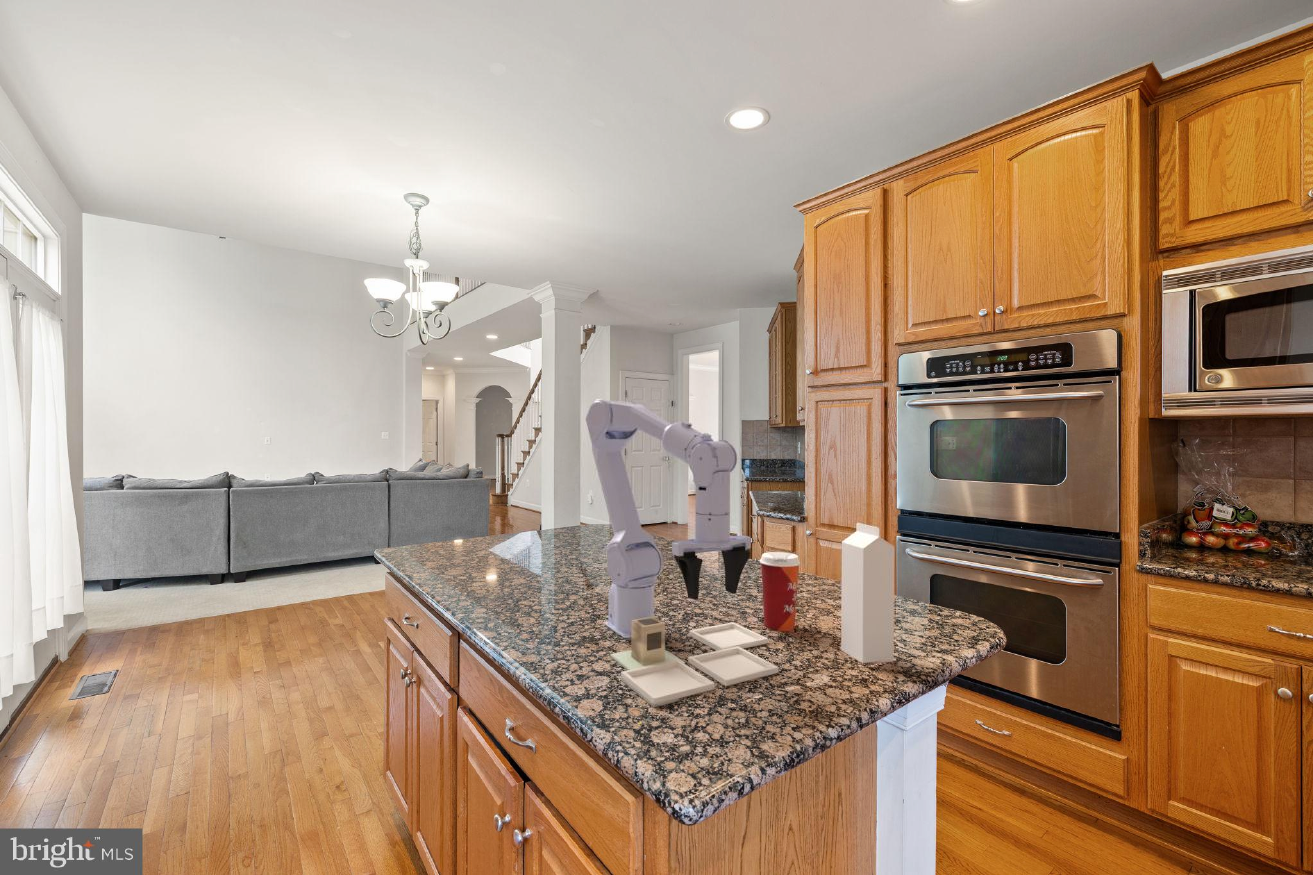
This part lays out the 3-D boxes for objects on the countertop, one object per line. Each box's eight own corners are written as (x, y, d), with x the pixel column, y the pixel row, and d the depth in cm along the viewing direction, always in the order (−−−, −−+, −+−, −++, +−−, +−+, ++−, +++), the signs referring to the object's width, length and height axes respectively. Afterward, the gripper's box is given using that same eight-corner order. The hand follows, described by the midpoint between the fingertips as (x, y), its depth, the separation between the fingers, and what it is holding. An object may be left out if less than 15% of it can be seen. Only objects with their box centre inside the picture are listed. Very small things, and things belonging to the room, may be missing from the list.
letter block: (631, 656, 93) (631, 619, 93) (652, 652, 95) (652, 616, 95) (643, 665, 89) (643, 626, 89) (665, 660, 91) (665, 623, 91)
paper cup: (801, 636, 104) (801, 560, 104) (758, 633, 106) (759, 558, 106) (799, 623, 112) (799, 552, 112) (759, 620, 114) (760, 550, 114)
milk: (862, 666, 91) (863, 528, 91) (840, 652, 97) (840, 523, 97) (894, 661, 93) (895, 526, 93) (870, 648, 99) (871, 521, 99)
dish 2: (689, 637, 103) (689, 630, 103) (733, 628, 108) (733, 622, 108) (721, 655, 95) (721, 648, 95) (768, 645, 100) (768, 638, 100)
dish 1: (620, 679, 85) (620, 671, 85) (677, 666, 90) (677, 659, 90) (653, 707, 76) (653, 698, 76) (714, 691, 81) (714, 683, 81)
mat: (610, 656, 94) (610, 654, 94) (657, 647, 98) (657, 644, 98) (635, 676, 86) (635, 673, 86) (685, 665, 91) (685, 662, 91)
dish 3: (688, 664, 91) (688, 657, 91) (738, 653, 96) (738, 646, 96) (725, 688, 82) (725, 680, 82) (778, 674, 87) (778, 667, 87)
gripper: (688, 518, 87) (688, 607, 87) (762, 513, 94) (762, 595, 94) (665, 513, 94) (665, 596, 94) (736, 508, 101) (736, 585, 101)
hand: (712, 595), depth 94 cm, fingers open, 7 cm apart
